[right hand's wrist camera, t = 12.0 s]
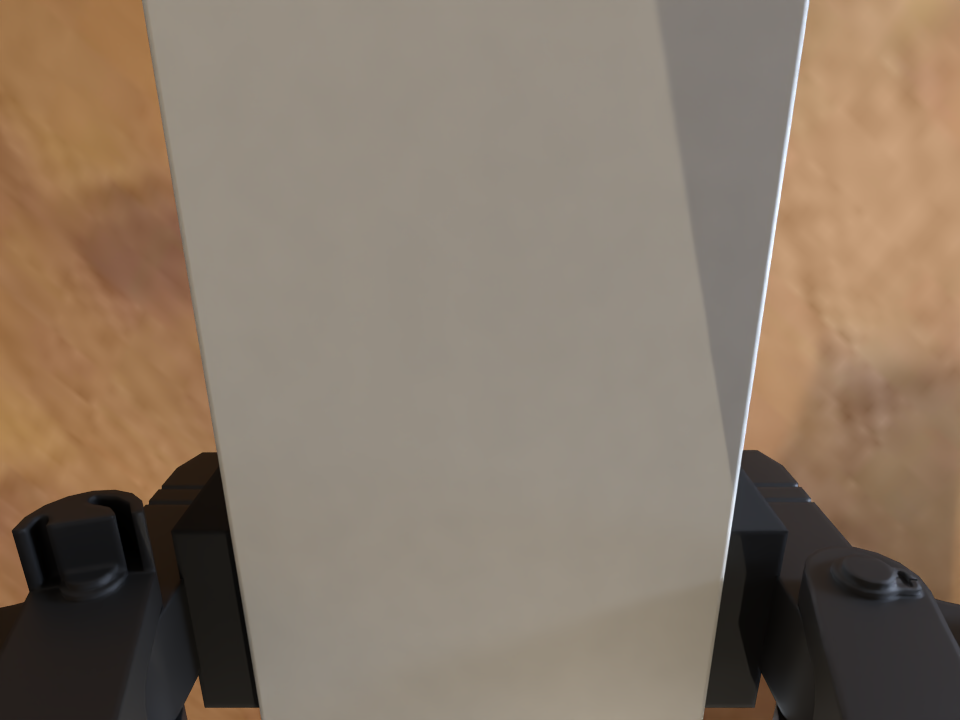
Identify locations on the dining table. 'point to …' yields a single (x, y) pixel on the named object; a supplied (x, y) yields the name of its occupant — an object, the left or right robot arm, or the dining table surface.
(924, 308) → the dining table surface
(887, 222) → the dining table surface
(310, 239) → the post
